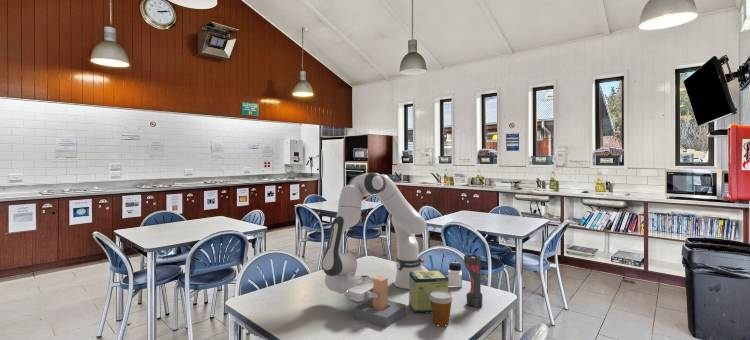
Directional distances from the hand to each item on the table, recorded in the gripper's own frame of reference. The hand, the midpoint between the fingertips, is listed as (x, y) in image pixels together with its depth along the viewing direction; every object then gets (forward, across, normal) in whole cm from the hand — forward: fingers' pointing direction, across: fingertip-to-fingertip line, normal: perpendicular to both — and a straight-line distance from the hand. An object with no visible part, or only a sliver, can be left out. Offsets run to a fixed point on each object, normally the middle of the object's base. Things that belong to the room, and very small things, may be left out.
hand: (382, 293), depth 159 cm
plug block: (-1, 0, +8) cm, 8 cm away
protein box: (+12, +19, +10) cm, 25 cm away
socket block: (-1, 0, +10) cm, 10 cm away
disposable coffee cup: (+24, +8, +10) cm, 27 cm away
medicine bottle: (+11, +55, +10) cm, 57 cm away
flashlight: (+27, +35, +10) cm, 45 cm away
